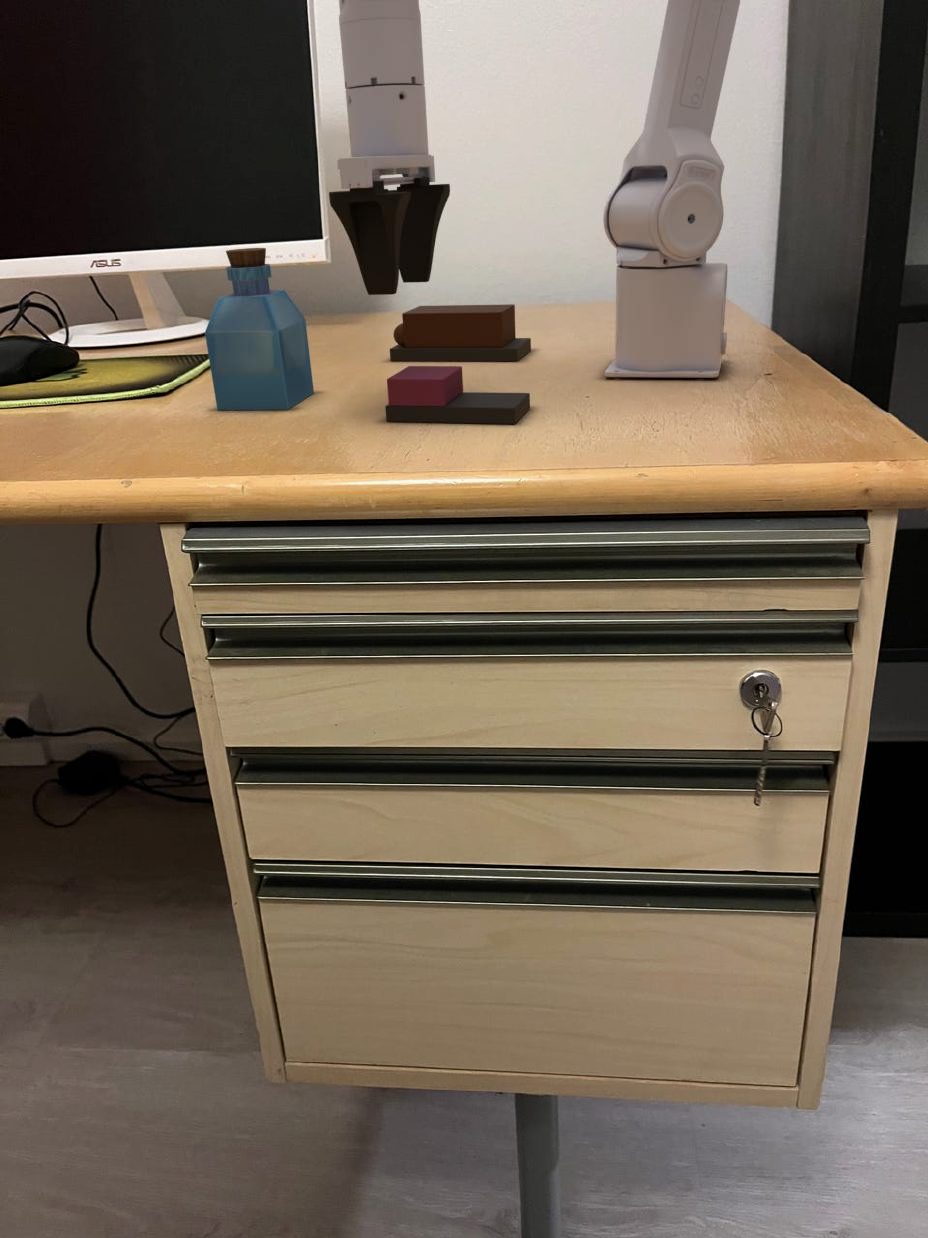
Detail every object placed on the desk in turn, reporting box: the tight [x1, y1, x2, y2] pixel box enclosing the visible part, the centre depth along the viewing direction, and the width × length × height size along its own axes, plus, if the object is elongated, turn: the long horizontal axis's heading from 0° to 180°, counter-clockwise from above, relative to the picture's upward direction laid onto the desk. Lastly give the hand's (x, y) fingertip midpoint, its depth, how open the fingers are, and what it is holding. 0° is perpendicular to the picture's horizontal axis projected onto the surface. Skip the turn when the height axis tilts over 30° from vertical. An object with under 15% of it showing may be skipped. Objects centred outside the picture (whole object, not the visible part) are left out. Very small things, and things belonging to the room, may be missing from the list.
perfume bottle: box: [204, 247, 315, 411], centre depth 78 cm, size 6×6×12 cm
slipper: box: [384, 365, 531, 425], centre depth 72 cm, size 10×5×3 cm, turn 74°
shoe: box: [389, 303, 532, 362], centre depth 95 cm, size 13×6×4 cm, turn 74°
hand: (400, 287), depth 74 cm, fingers open, 7 cm apart
